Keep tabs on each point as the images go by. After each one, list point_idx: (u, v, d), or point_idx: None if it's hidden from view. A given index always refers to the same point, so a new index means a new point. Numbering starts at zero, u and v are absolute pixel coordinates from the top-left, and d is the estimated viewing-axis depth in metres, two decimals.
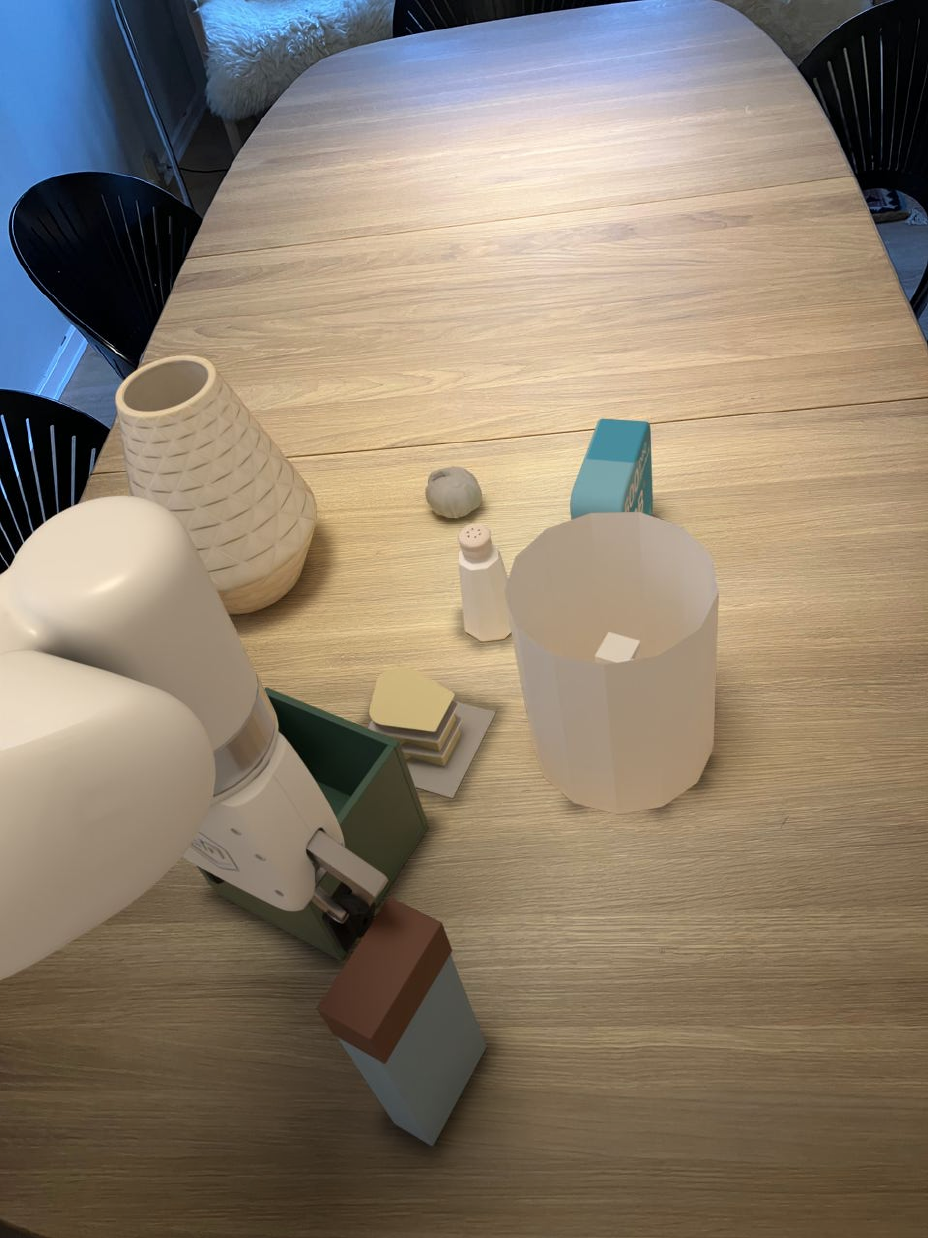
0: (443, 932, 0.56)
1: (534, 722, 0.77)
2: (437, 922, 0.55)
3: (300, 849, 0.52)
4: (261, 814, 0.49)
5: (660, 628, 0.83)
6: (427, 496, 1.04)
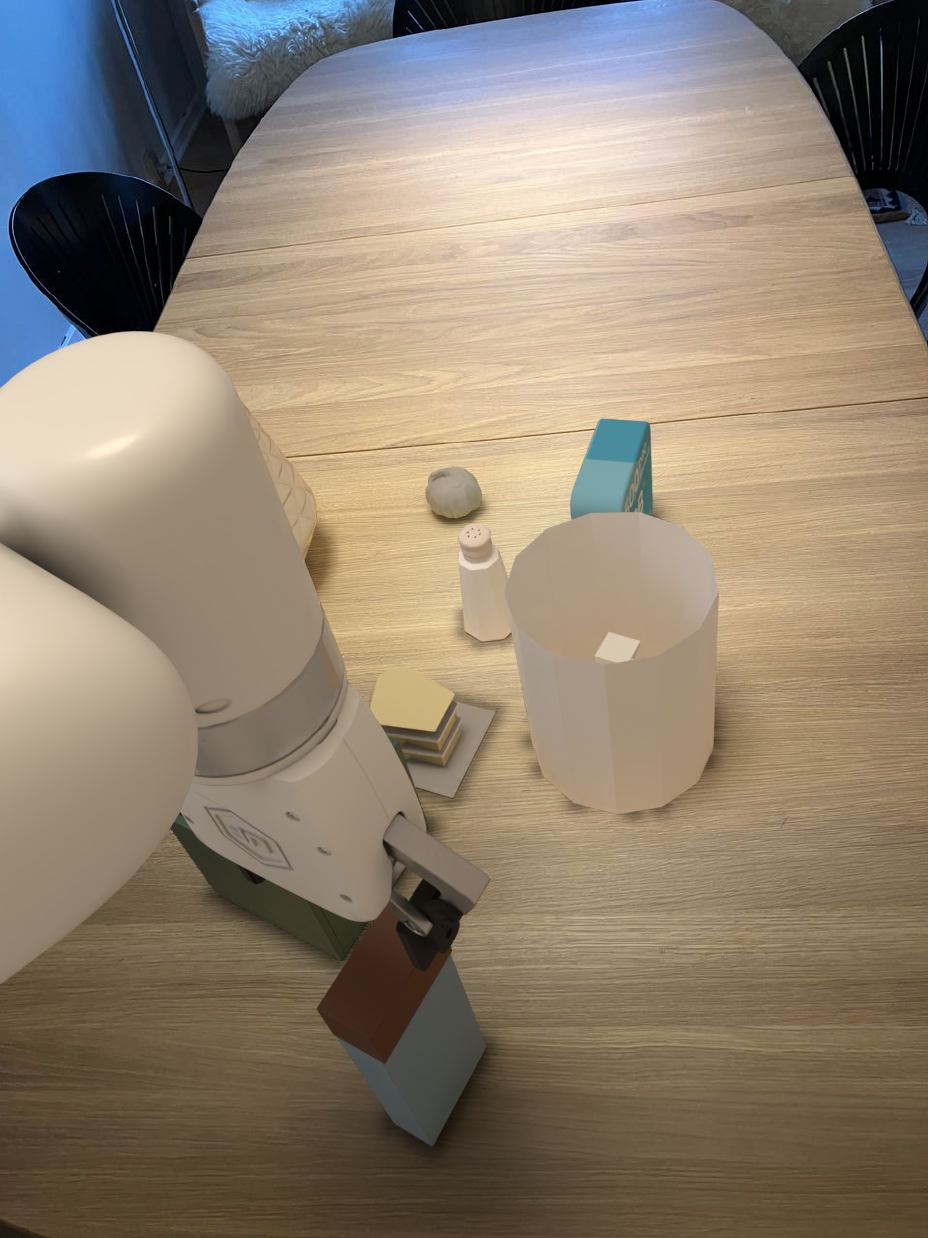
0: None
1: (534, 722, 0.77)
2: None
3: (375, 840, 0.38)
4: (328, 792, 0.35)
5: (660, 628, 0.83)
6: (427, 496, 1.04)
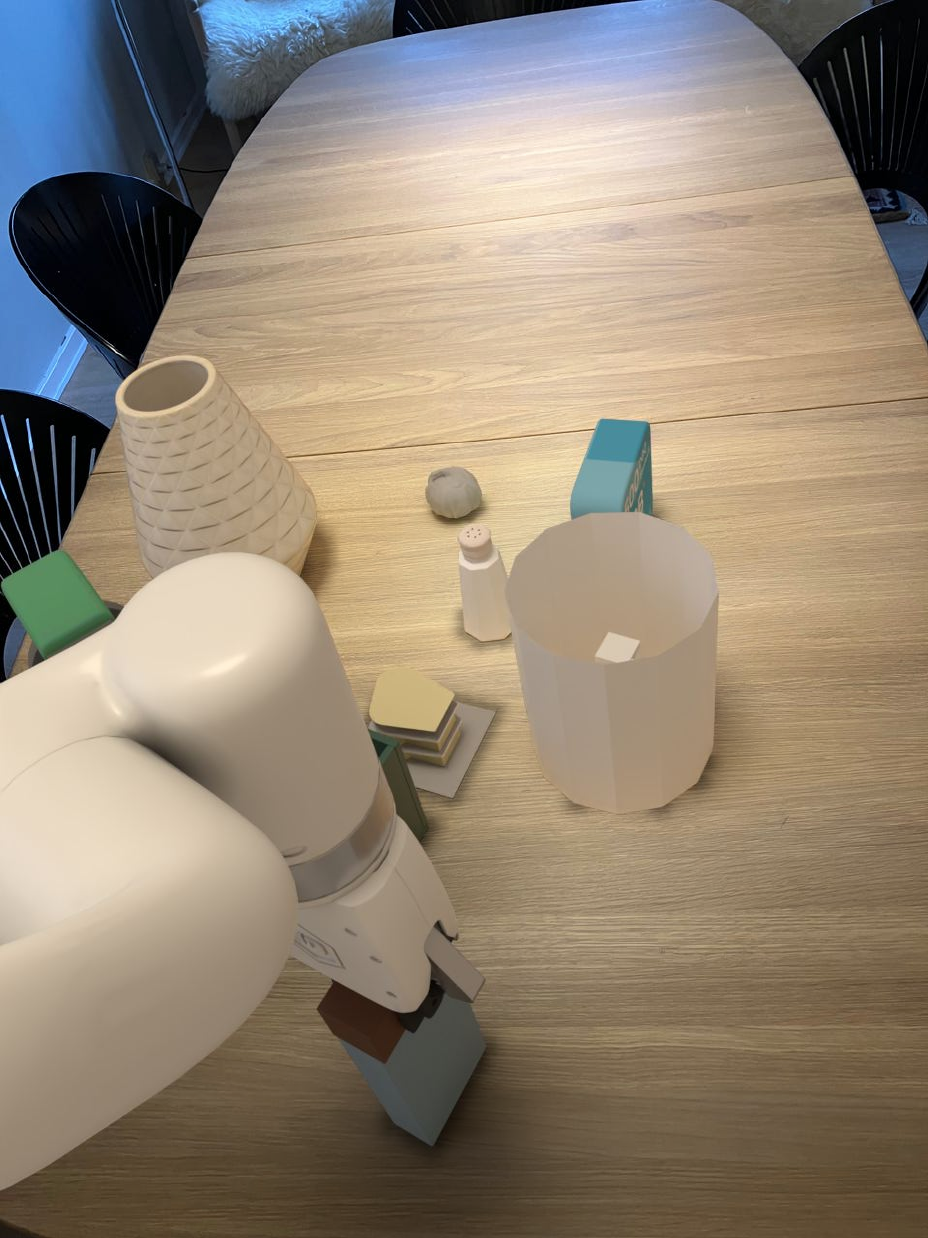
0: None
1: (534, 722, 0.77)
2: None
3: (418, 947, 0.45)
4: (381, 913, 0.42)
5: (660, 628, 0.83)
6: (427, 496, 1.04)
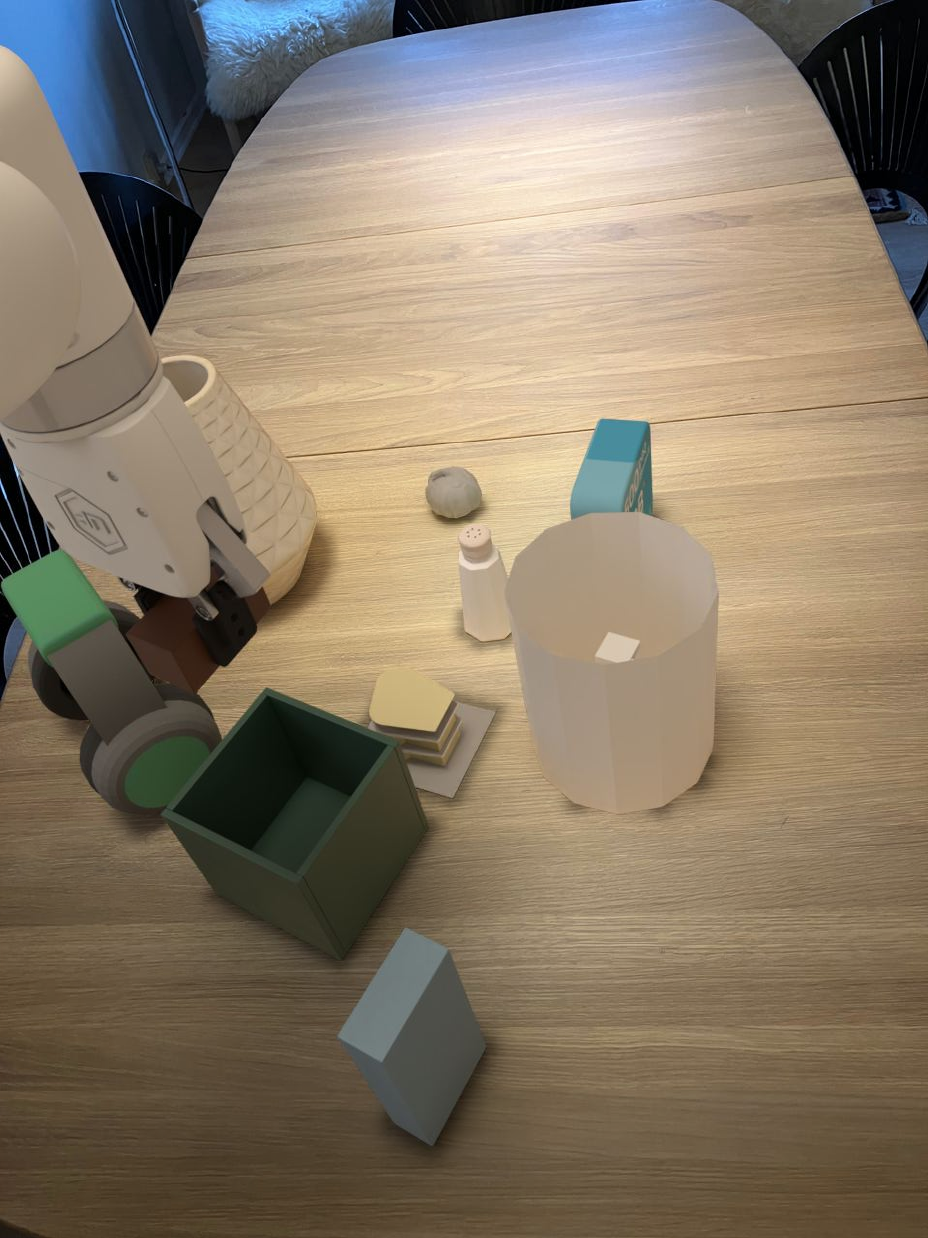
0: None
1: (534, 722, 0.77)
2: None
3: (189, 512, 0.47)
4: (138, 452, 0.44)
5: (660, 628, 0.83)
6: (427, 496, 1.04)
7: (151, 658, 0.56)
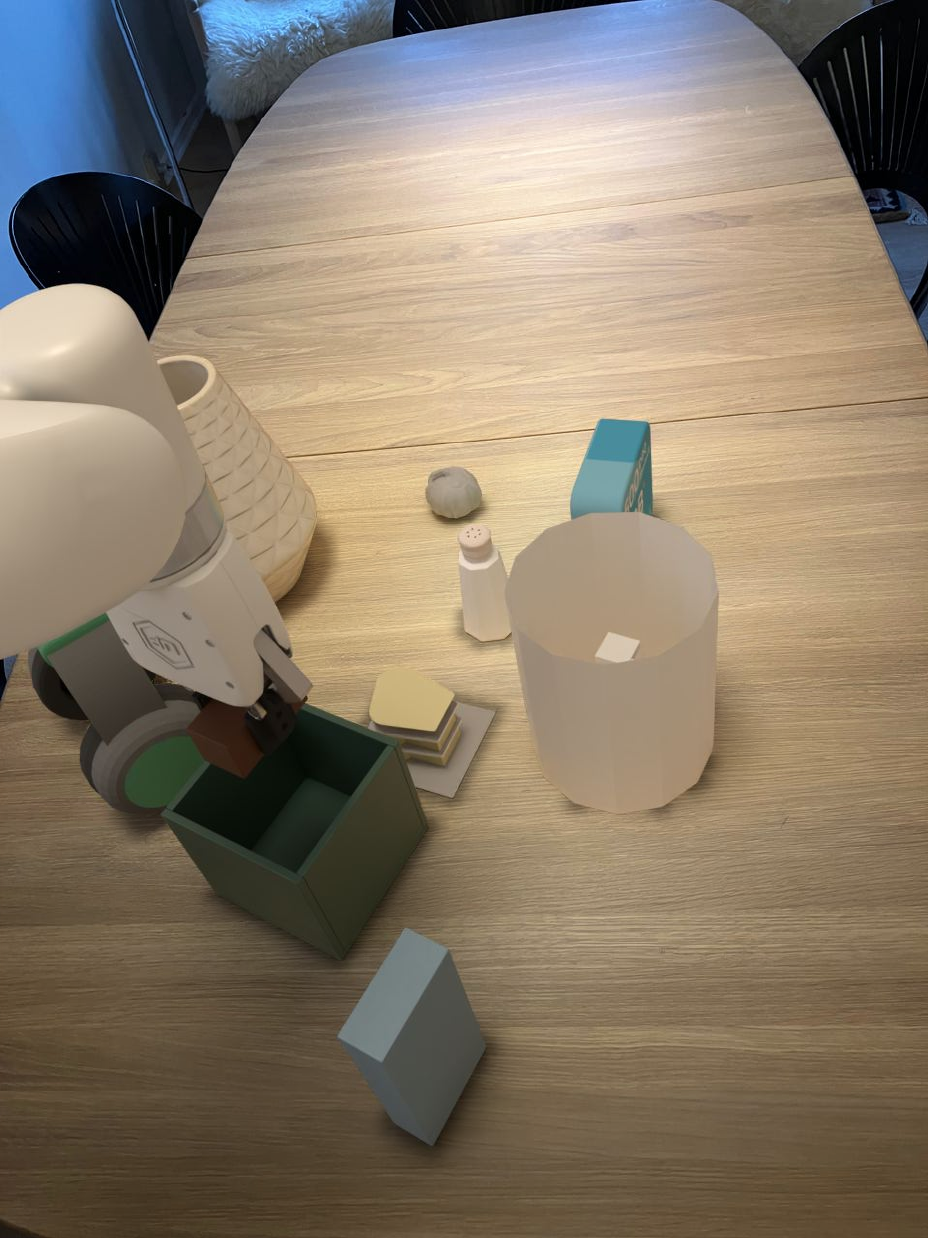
0: None
1: (534, 722, 0.77)
2: None
3: (248, 640, 0.56)
4: (209, 597, 0.53)
5: (660, 628, 0.83)
6: (427, 496, 1.04)
7: (207, 749, 0.65)
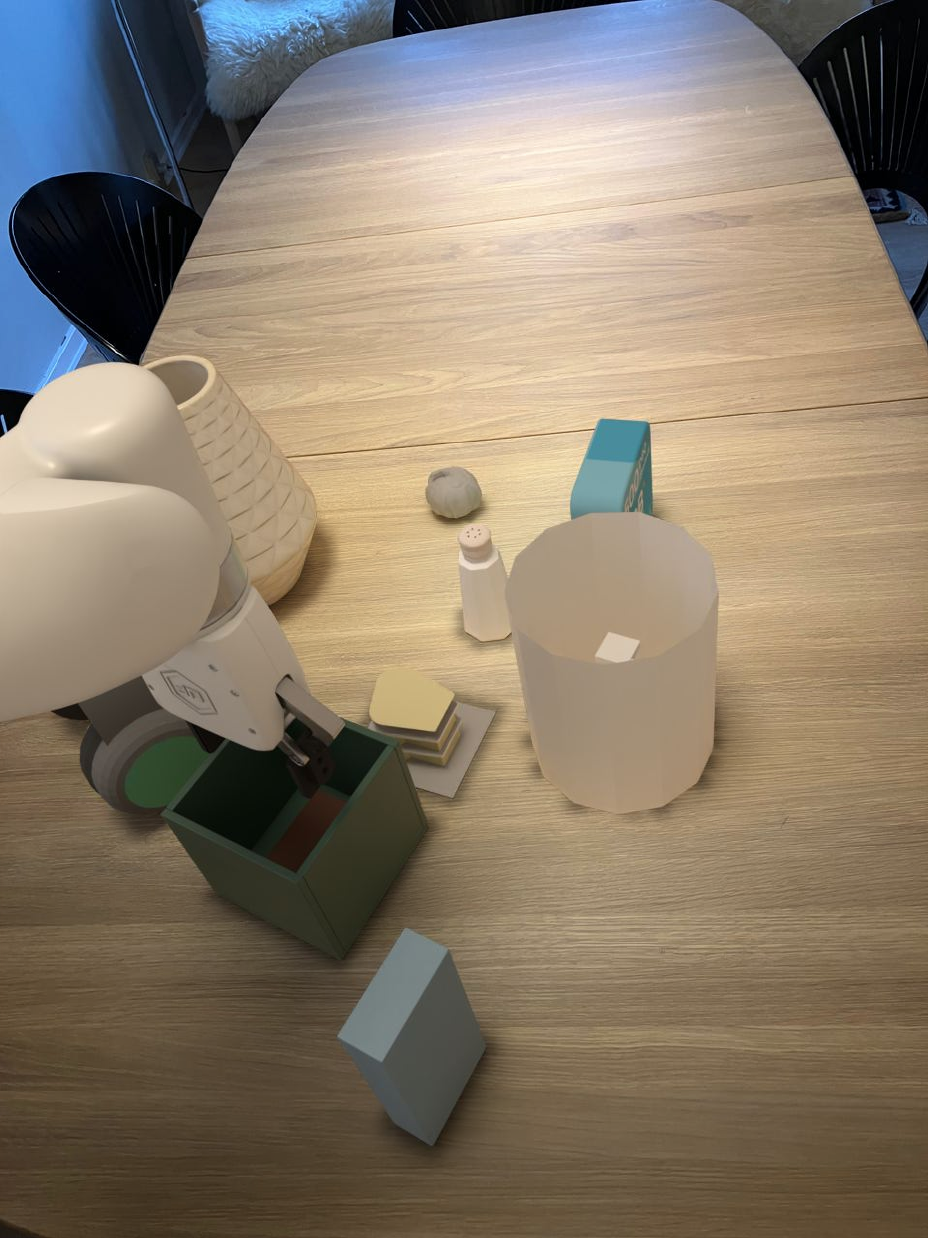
0: None
1: (534, 722, 0.77)
2: None
3: (270, 690, 0.59)
4: (235, 651, 0.56)
5: (660, 628, 0.83)
6: (427, 496, 1.04)
7: None
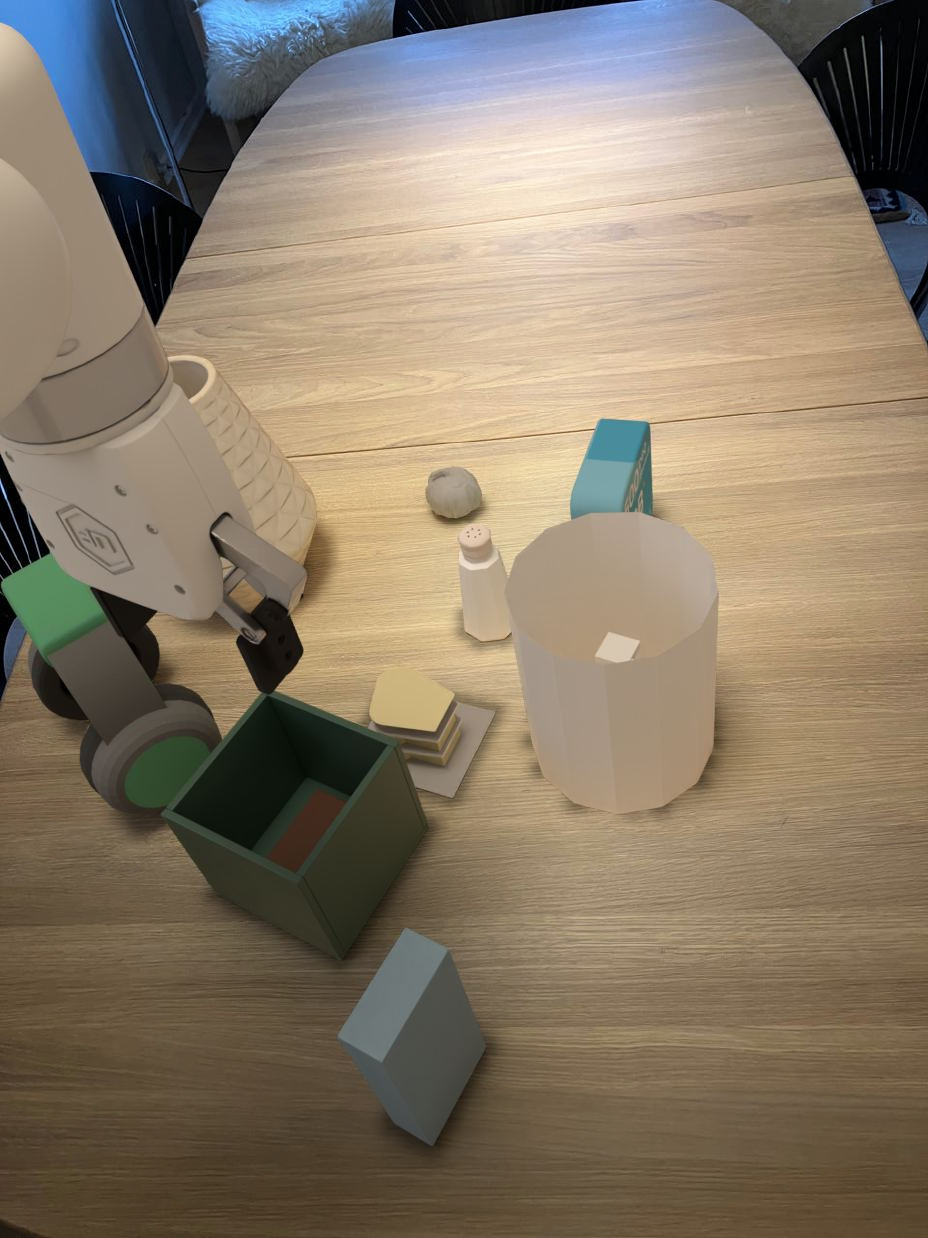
0: None
1: (534, 722, 0.77)
2: None
3: (202, 529, 0.44)
4: (149, 464, 0.41)
5: (660, 628, 0.83)
6: (427, 496, 1.04)
7: None
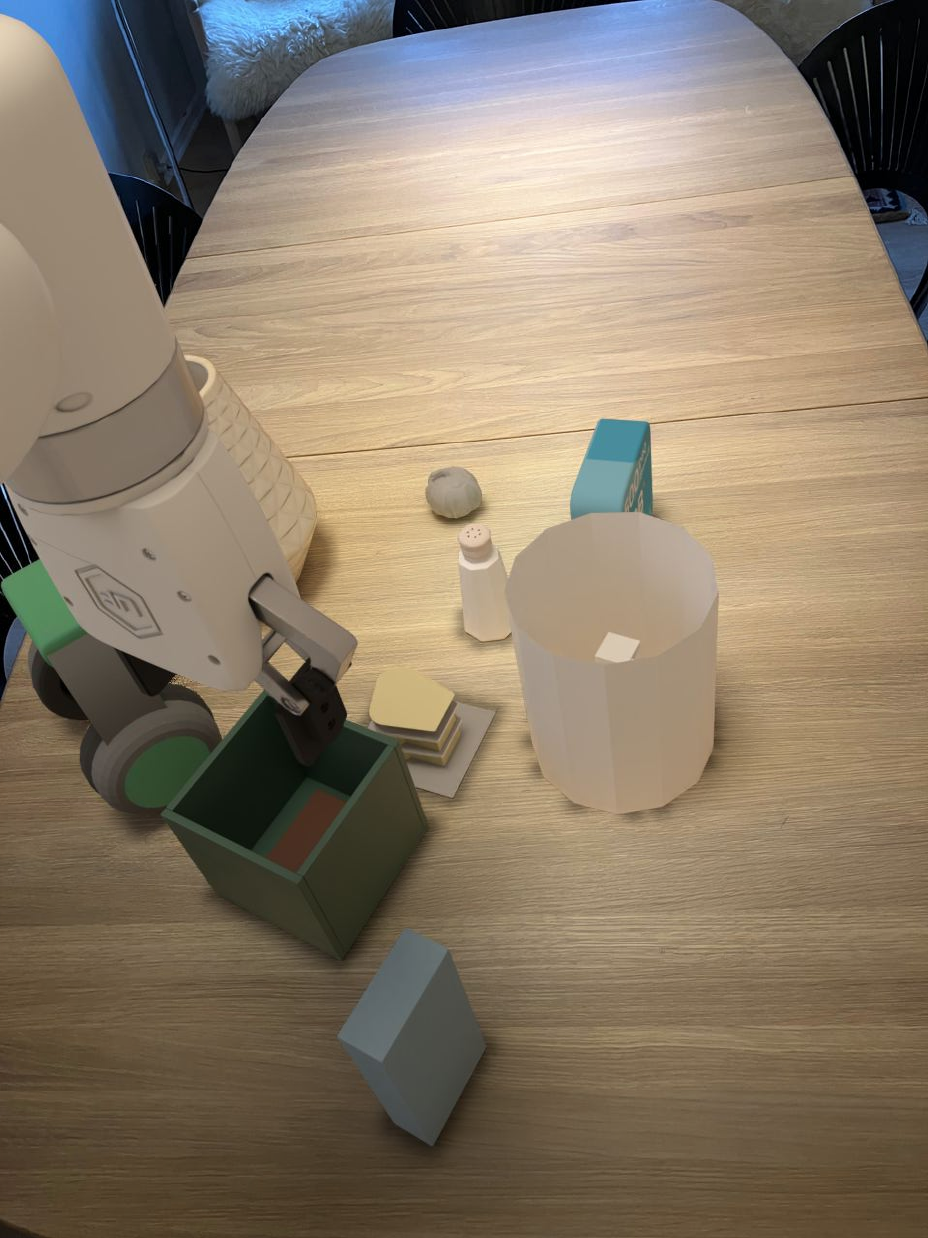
0: None
1: (534, 722, 0.77)
2: None
3: (240, 594, 0.39)
4: (182, 525, 0.36)
5: (660, 628, 0.83)
6: (427, 496, 1.04)
7: None
